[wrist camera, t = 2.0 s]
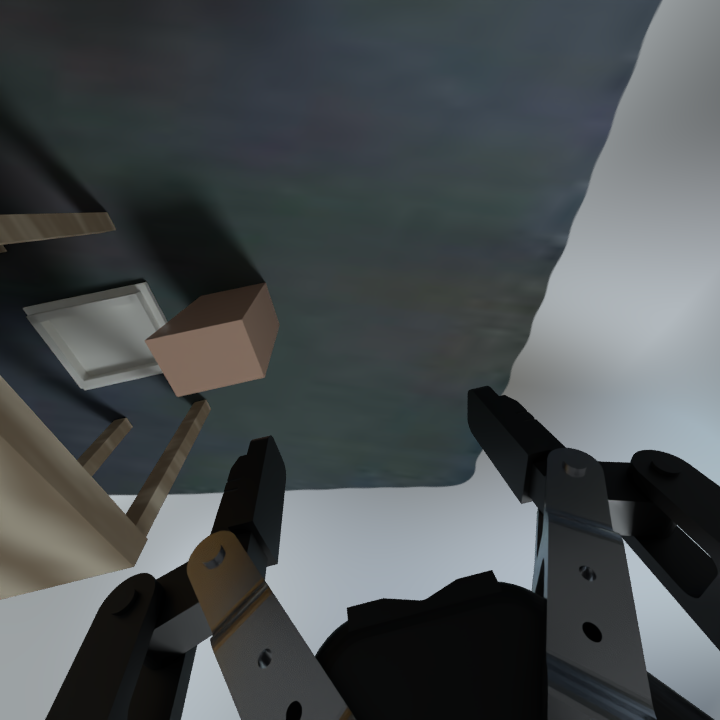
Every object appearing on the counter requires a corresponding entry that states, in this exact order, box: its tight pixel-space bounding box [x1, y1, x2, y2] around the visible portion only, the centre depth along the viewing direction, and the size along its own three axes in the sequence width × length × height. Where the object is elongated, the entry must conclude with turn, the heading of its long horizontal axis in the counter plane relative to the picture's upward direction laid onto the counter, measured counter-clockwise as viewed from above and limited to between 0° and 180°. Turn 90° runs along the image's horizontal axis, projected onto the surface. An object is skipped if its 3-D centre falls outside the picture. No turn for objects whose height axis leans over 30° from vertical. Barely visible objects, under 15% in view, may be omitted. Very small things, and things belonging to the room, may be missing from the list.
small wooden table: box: [0, 212, 211, 600], centre depth 24 cm, size 12×23×19 cm, turn 10°
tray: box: [23, 282, 167, 390], centre depth 32 cm, size 12×10×2 cm
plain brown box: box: [144, 283, 279, 397], centre depth 28 cm, size 7×5×12 cm
